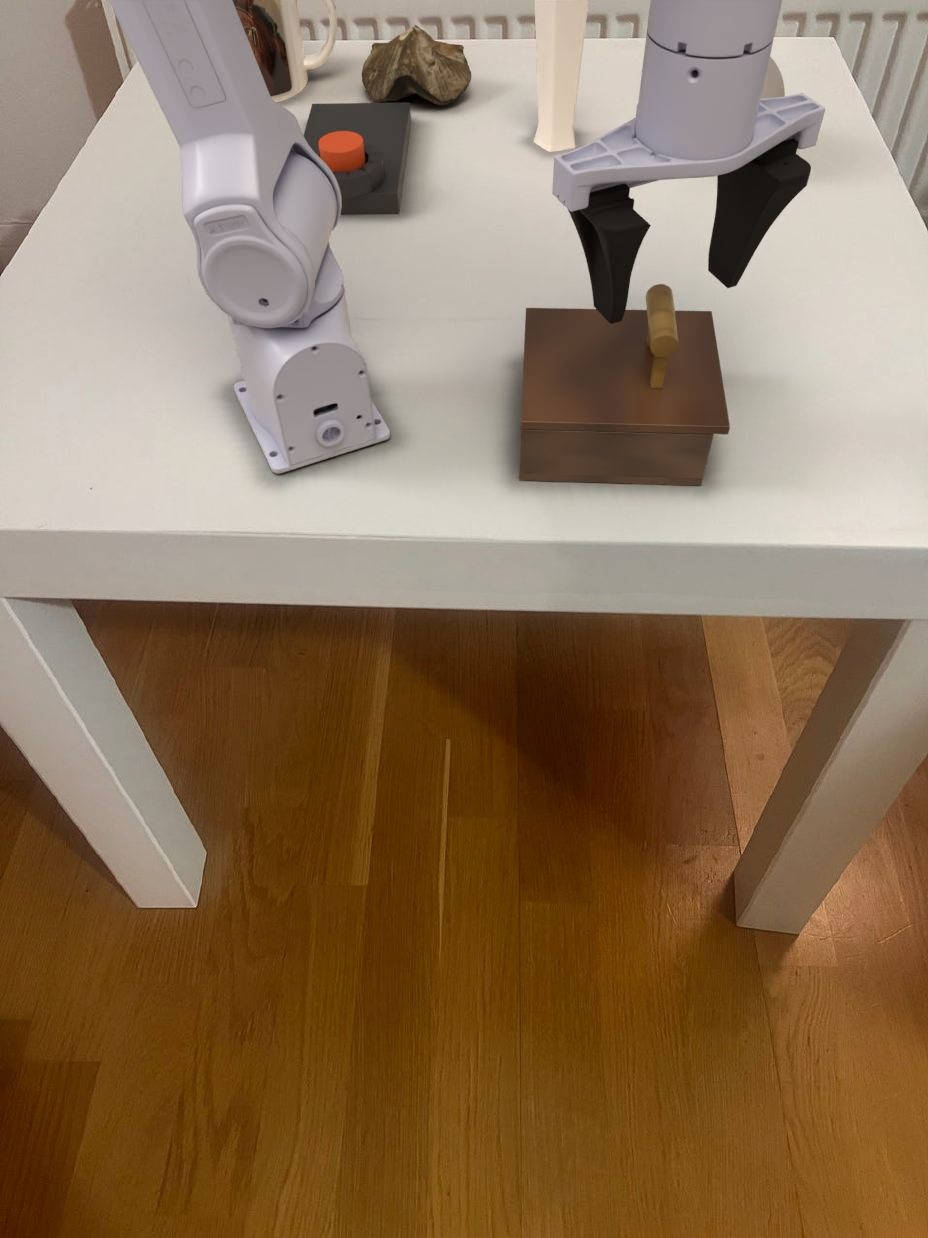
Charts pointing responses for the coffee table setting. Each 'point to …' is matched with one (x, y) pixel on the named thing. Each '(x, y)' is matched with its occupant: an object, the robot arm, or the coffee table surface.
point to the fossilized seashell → (416, 69)
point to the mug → (282, 43)
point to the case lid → (623, 370)
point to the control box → (367, 152)
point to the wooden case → (613, 456)
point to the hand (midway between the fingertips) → (665, 295)
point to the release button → (342, 151)
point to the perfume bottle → (558, 69)
